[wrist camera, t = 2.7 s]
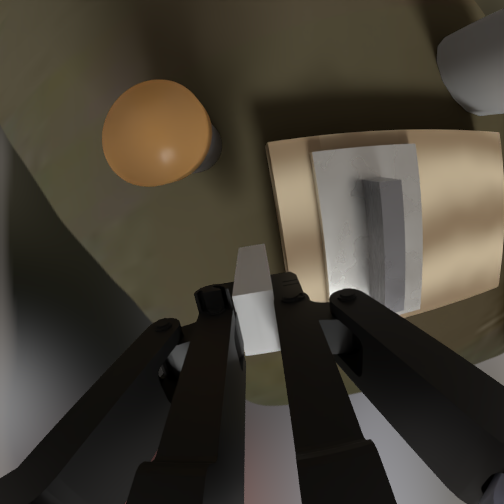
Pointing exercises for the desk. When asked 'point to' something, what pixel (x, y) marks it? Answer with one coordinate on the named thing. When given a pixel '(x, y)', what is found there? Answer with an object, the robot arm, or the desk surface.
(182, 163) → the orange grey cylinder
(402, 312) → the shutter
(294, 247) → the socket board
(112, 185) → the desk surface
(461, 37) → the cup
